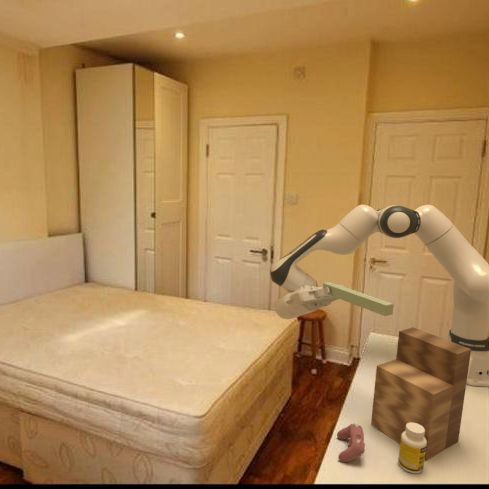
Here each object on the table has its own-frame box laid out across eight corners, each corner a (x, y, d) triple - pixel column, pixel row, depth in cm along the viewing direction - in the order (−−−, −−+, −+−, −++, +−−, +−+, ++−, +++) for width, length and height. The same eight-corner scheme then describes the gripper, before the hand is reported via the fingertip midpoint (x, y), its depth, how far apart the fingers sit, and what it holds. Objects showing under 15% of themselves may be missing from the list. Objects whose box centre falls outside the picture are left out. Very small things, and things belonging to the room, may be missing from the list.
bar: (322, 292, 126) (323, 283, 126) (329, 291, 128) (330, 282, 127) (385, 316, 107) (386, 305, 106) (392, 314, 108) (393, 303, 108)
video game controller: (354, 471, 92) (370, 449, 90) (336, 460, 92) (352, 438, 91) (350, 443, 102) (365, 423, 100) (335, 434, 102) (349, 413, 100)
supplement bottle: (421, 478, 89) (426, 438, 87) (395, 468, 91) (400, 429, 90) (425, 463, 93) (429, 425, 91) (400, 454, 96) (404, 417, 94)
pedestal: (371, 424, 107) (379, 336, 103) (403, 409, 115) (412, 327, 111) (425, 460, 94) (437, 361, 90) (458, 441, 102) (471, 349, 97)
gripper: (280, 294, 130) (306, 282, 119) (326, 287, 141) (354, 275, 130) (285, 313, 128) (312, 303, 117) (331, 304, 139) (360, 294, 128)
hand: (334, 288), depth 124 cm, fingers closed on bar, 3 cm apart
